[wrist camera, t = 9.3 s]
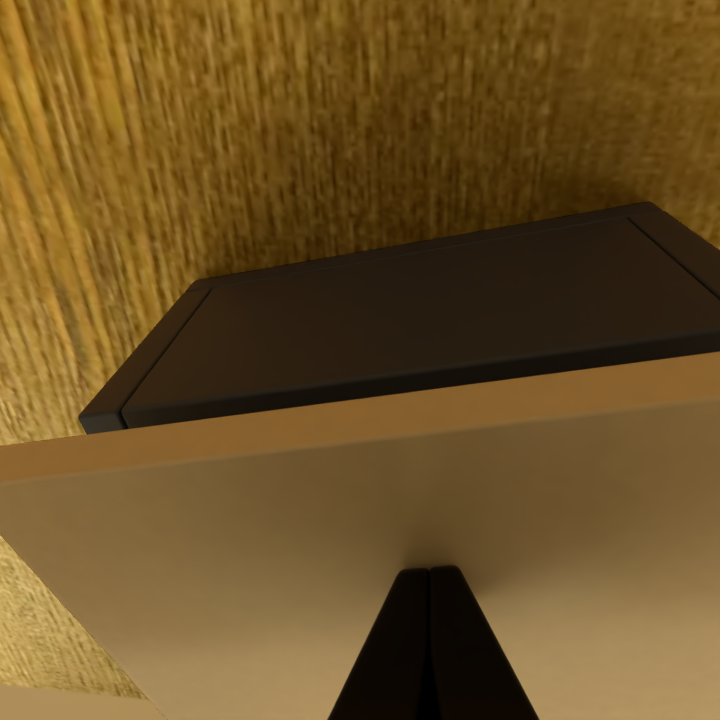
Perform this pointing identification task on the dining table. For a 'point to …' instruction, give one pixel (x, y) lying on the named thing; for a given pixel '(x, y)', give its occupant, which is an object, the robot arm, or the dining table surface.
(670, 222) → the box
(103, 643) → the lid
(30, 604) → the dining table surface
